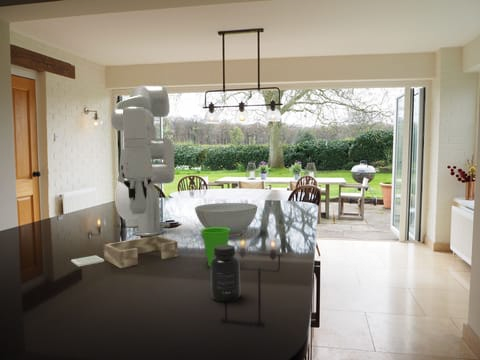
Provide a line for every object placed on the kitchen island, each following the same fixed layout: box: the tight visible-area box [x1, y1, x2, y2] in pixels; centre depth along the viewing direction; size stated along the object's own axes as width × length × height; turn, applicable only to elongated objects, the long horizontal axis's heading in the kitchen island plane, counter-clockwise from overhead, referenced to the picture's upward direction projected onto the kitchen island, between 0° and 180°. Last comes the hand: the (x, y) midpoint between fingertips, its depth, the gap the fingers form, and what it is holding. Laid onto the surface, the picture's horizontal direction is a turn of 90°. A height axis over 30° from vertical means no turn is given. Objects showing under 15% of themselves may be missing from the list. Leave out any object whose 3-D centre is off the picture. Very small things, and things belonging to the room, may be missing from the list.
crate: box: [103, 235, 179, 269], centre depth 126 cm, size 20×14×5 cm
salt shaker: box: [129, 177, 147, 214], centre depth 126 cm, size 6×6×13 cm
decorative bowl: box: [194, 202, 259, 238], centre depth 161 cm, size 27×27×12 cm
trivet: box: [70, 255, 105, 267], centre depth 122 cm, size 8×8×1 cm
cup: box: [200, 227, 230, 268], centre depth 114 cm, size 9×9×11 cm
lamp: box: [114, 179, 138, 228], centre depth 188 cm, size 16×16×35 cm
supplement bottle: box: [210, 244, 241, 303], centre depth 88 cm, size 7×7×12 cm
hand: (138, 199), depth 126 cm, fingers closed on salt shaker, 3 cm apart
